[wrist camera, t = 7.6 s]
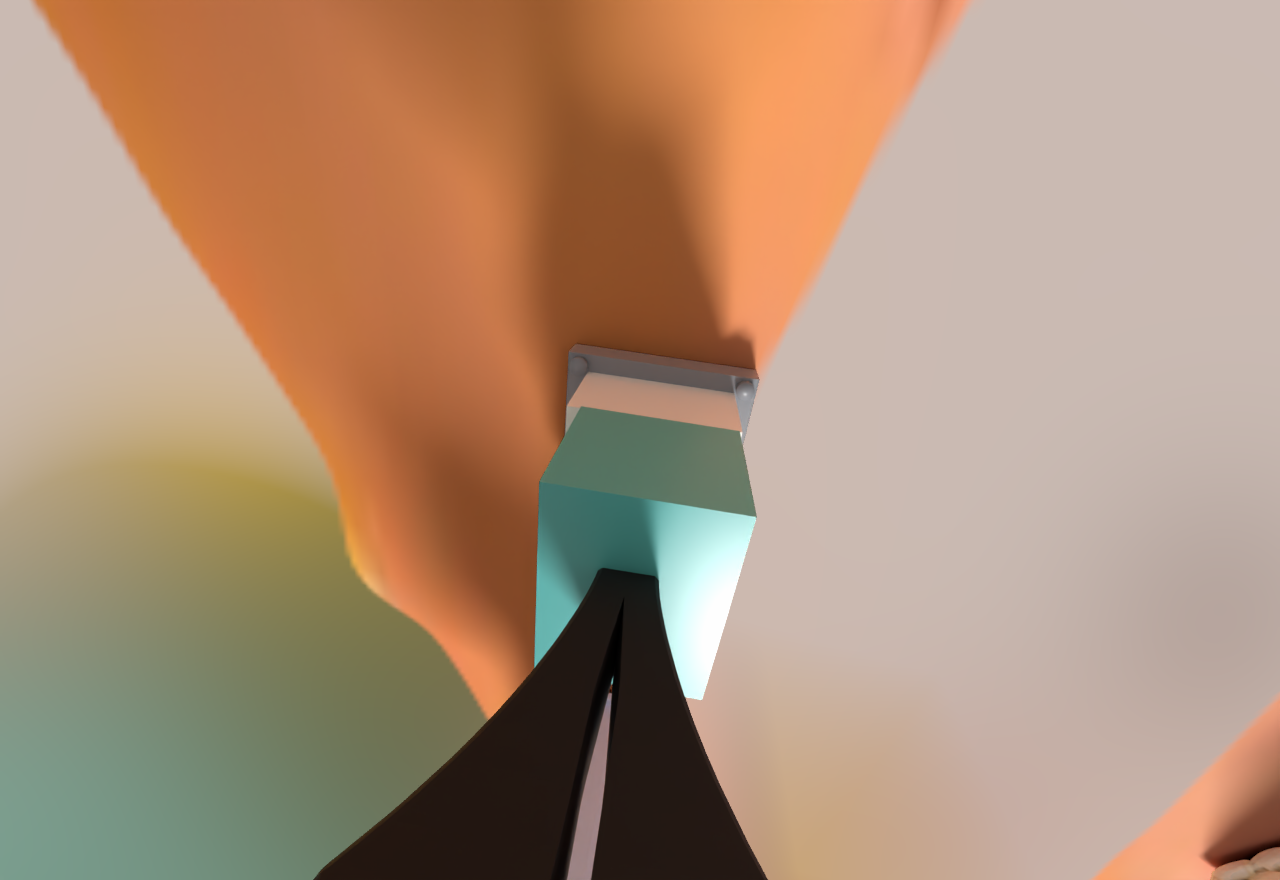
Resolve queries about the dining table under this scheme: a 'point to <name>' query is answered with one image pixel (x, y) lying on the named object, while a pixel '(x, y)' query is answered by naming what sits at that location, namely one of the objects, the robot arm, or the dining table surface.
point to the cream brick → (655, 401)
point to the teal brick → (646, 526)
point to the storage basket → (1252, 867)
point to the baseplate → (664, 374)
